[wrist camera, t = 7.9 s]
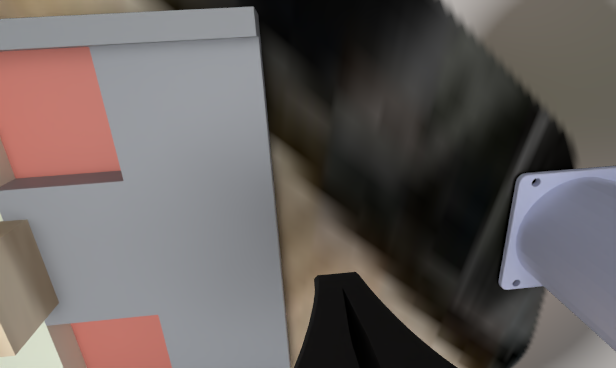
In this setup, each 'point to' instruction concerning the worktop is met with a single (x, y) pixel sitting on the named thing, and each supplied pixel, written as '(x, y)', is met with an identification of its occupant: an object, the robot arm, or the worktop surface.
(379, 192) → the worktop surface
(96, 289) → the trap tray
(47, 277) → the maple block
